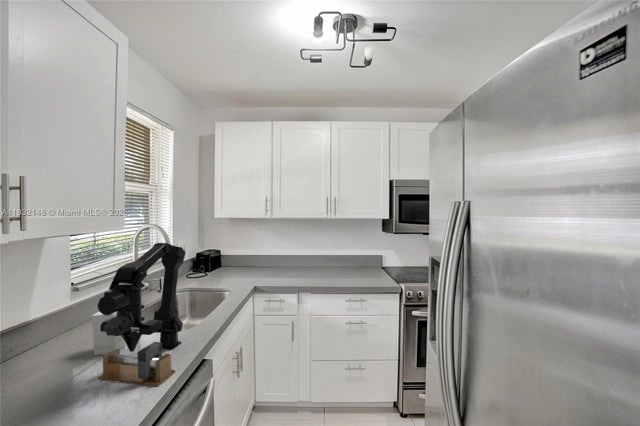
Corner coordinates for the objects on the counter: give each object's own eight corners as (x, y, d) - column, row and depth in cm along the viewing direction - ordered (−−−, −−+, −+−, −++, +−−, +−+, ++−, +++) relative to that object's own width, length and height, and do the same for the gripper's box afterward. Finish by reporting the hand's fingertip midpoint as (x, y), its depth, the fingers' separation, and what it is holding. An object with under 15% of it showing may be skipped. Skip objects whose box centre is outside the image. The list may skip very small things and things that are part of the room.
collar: (138, 378, 95) (137, 352, 95) (154, 366, 102) (154, 341, 102) (146, 379, 94) (146, 352, 94) (162, 367, 102) (162, 342, 101)
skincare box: (125, 347, 120) (124, 308, 120) (114, 355, 113) (114, 314, 113) (104, 347, 120) (103, 308, 119) (92, 355, 113) (91, 314, 113)
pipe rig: (97, 379, 97) (97, 358, 97) (118, 366, 105) (118, 346, 105) (158, 386, 93) (157, 364, 93) (175, 372, 101) (174, 351, 101)
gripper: (83, 311, 93) (85, 361, 93) (137, 314, 89) (138, 366, 90) (114, 300, 104) (115, 345, 104) (162, 302, 100) (163, 349, 101)
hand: (132, 351), depth 99 cm, fingers closed
